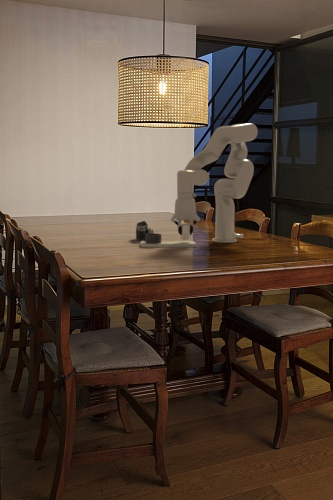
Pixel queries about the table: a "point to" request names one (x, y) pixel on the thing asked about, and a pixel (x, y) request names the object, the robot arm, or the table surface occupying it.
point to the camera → (142, 231)
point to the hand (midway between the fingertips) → (185, 234)
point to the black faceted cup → (153, 238)
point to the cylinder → (185, 231)
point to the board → (170, 244)
